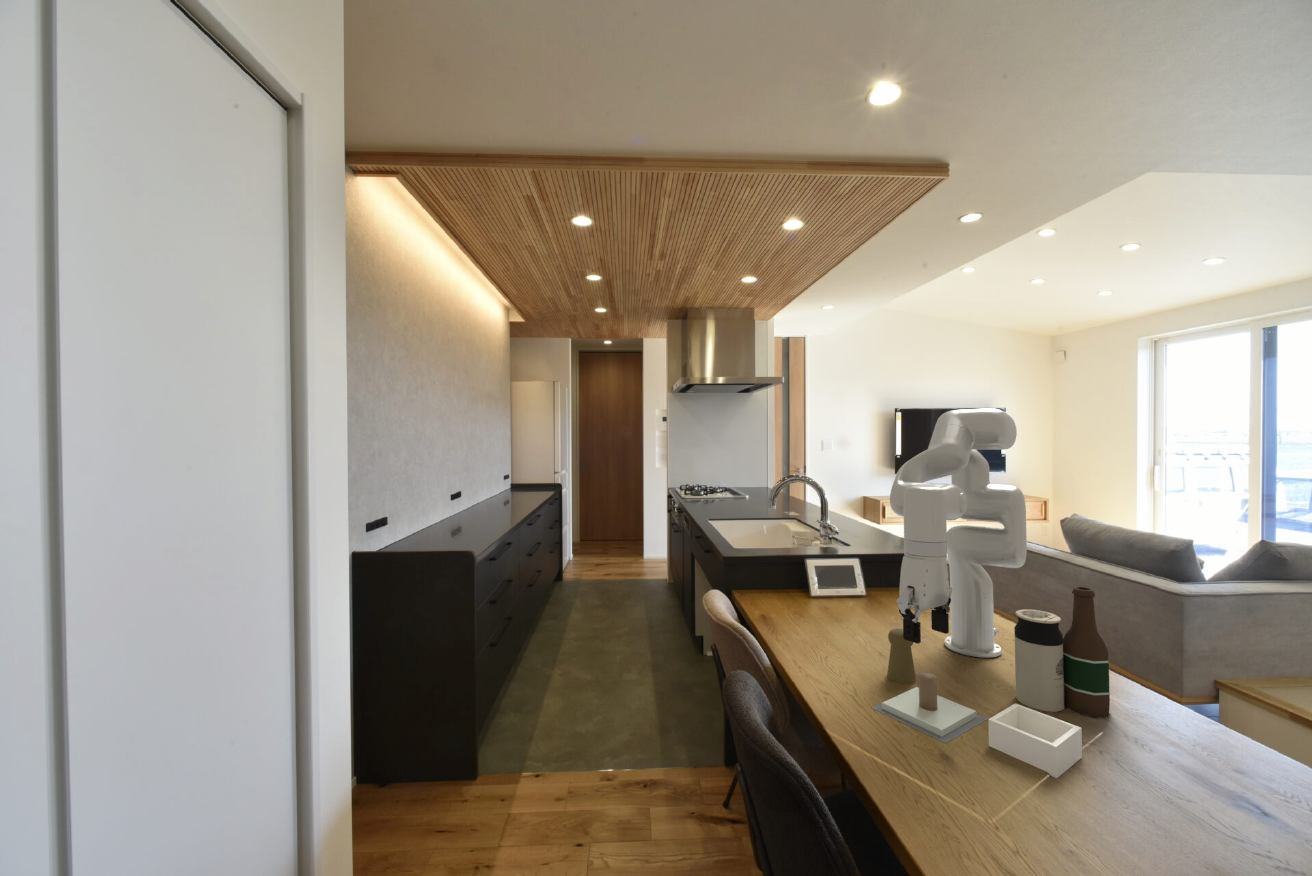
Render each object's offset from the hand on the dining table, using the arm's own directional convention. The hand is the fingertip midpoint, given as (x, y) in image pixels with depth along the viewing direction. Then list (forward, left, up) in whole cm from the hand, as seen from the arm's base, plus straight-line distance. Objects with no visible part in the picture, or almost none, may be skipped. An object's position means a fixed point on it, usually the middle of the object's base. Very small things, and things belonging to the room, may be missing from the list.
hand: (926, 636), depth 102 cm
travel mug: (-23, +10, -16) cm, 30 cm away
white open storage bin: (-3, +17, -16) cm, 23 cm away
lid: (0, 0, -15) cm, 15 cm away
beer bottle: (-28, +16, -16) cm, 36 cm away
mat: (0, 0, -16) cm, 16 cm away
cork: (-10, -12, -16) cm, 22 cm away
